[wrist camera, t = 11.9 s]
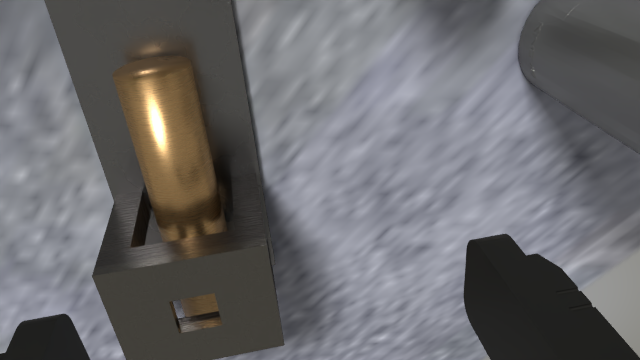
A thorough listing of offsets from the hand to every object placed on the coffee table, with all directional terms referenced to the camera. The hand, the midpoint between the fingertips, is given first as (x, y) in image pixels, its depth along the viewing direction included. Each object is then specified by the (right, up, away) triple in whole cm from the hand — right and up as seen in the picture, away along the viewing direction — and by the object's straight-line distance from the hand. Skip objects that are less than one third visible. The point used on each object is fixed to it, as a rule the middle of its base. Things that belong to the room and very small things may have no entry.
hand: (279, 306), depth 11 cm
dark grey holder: (-10, +9, +28) cm, 31 cm away
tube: (-10, +2, +31) cm, 33 cm away
